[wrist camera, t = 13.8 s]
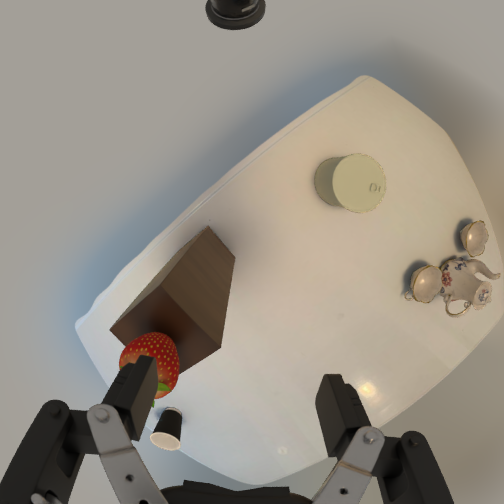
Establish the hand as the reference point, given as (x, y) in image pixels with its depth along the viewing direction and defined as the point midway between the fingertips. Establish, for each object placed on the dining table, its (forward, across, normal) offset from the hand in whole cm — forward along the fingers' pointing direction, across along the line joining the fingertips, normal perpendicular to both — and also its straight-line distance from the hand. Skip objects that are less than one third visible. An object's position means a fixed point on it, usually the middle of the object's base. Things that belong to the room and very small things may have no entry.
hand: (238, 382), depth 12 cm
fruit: (+12, +7, +6) cm, 15 cm away
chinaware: (+41, -48, +3) cm, 64 cm away
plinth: (+41, +7, +7) cm, 42 cm away
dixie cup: (+41, +14, +53) cm, 68 cm away
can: (+42, -16, -10) cm, 46 cm away
